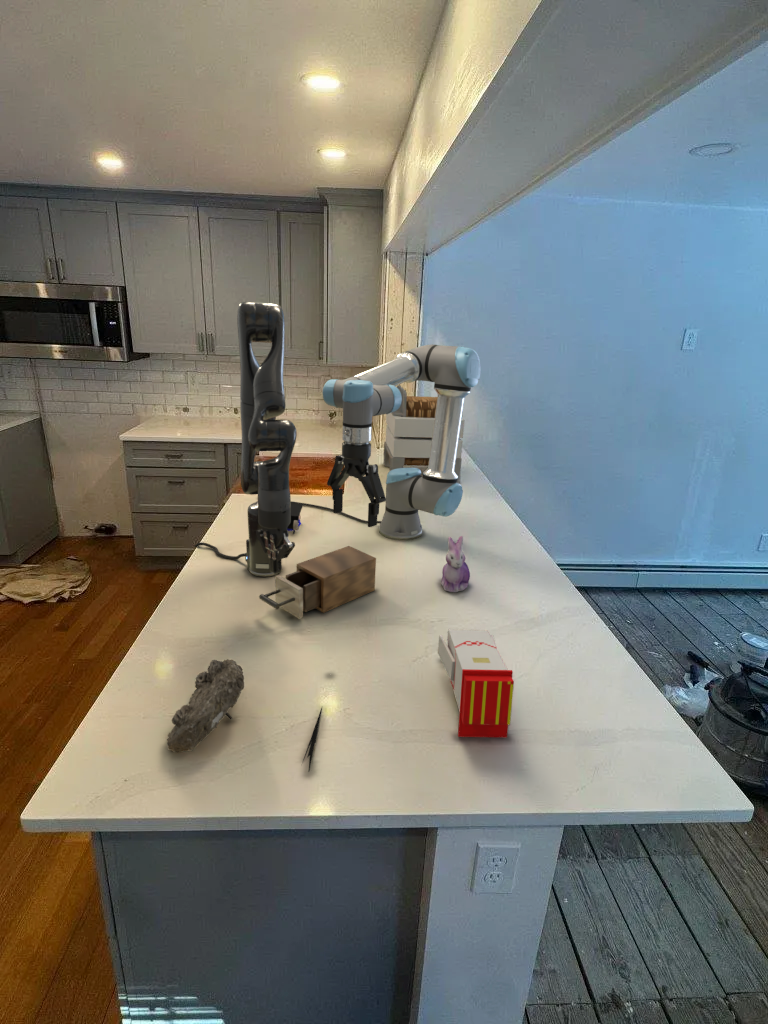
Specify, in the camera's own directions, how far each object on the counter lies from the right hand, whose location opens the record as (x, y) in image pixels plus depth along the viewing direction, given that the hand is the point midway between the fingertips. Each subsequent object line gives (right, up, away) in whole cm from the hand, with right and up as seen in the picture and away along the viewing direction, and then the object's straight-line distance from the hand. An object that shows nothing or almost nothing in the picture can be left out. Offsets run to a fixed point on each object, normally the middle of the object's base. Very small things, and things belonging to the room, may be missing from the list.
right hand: (354, 518), depth 154 cm
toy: (+26, -36, -35) cm, 56 cm away
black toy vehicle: (-25, -4, +46) cm, 52 cm away
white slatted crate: (+25, +21, +121) cm, 126 cm away
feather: (-4, -38, -45) cm, 59 cm away
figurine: (+28, -20, +10) cm, 36 cm away
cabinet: (-5, -21, +3) cm, 22 cm away
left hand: (-18, -13, -15) cm, 27 cm away
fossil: (-25, -37, -45) cm, 64 cm away
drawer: (-13, -22, -5) cm, 26 cm away
